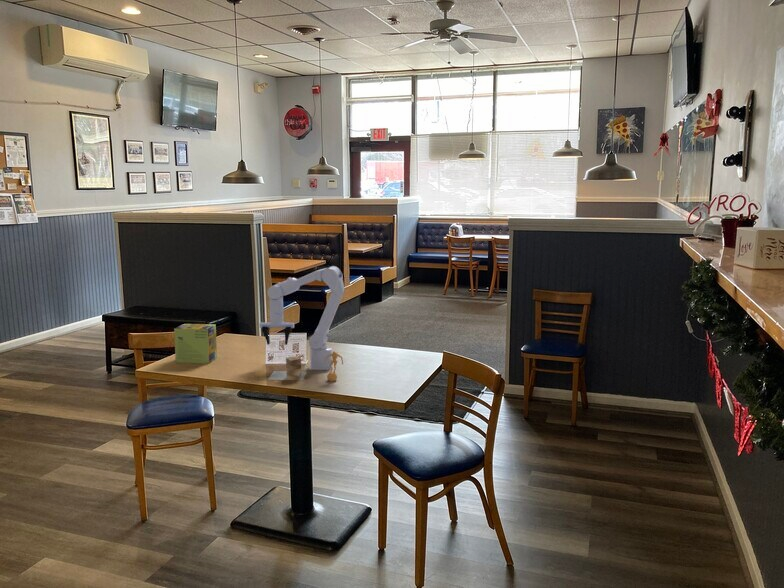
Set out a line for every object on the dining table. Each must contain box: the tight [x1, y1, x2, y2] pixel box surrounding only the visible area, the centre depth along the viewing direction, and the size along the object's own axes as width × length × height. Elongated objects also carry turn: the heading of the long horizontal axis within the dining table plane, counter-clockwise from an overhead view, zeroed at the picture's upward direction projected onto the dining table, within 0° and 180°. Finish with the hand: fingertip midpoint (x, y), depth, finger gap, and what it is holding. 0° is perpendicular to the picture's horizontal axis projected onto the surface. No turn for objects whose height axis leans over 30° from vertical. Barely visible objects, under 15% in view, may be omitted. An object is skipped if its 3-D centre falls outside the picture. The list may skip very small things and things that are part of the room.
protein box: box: [173, 323, 218, 365], centre depth 272 cm, size 10×15×16 cm
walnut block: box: [285, 355, 302, 370], centre depth 245 cm, size 4×4×4 cm
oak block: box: [286, 368, 302, 381], centre depth 246 cm, size 5×5×4 cm
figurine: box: [324, 350, 344, 382], centre depth 243 cm, size 8×6×12 cm
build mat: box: [267, 370, 308, 381], centre depth 249 cm, size 14×12×1 cm
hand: (277, 344), depth 263 cm, fingers open, 7 cm apart
